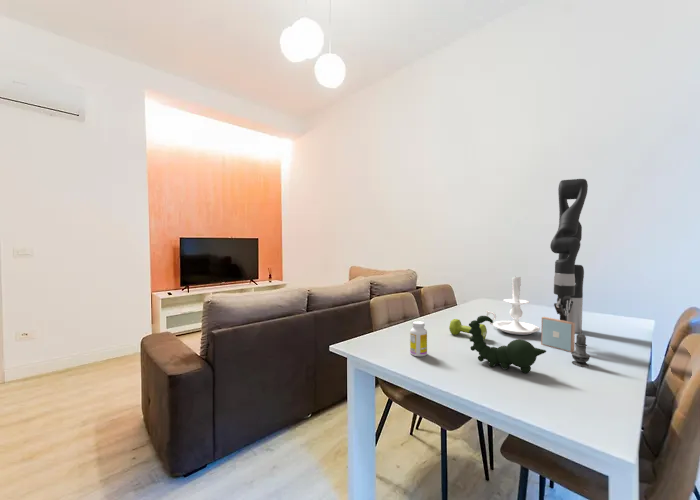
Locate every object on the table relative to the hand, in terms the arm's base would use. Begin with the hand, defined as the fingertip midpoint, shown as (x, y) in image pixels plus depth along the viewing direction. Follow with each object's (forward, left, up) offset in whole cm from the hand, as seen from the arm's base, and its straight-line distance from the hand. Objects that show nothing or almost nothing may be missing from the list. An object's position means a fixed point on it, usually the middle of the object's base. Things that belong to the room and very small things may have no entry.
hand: (563, 323), depth 139 cm
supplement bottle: (+59, -28, -10) cm, 66 cm away
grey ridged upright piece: (+17, +13, -10) cm, 24 cm away
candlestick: (-2, -24, -10) cm, 26 cm away
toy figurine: (+43, -1, -10) cm, 44 cm away
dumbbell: (+23, -31, -10) cm, 40 cm away
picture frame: (+5, 0, -10) cm, 11 cm away
